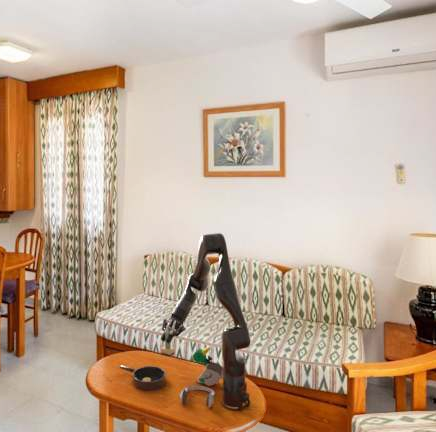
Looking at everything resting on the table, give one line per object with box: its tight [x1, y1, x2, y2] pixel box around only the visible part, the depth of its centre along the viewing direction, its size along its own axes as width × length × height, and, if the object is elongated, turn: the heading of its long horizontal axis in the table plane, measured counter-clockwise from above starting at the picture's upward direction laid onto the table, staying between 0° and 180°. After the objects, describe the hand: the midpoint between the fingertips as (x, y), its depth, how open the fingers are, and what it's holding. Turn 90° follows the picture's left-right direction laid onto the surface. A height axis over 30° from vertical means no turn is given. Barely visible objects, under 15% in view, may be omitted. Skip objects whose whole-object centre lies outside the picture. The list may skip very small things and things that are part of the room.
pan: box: [132, 365, 167, 392], centre depth 181 cm, size 15×15×4 cm
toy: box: [192, 346, 223, 389], centre depth 181 cm, size 6×17×20 cm
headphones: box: [169, 385, 216, 409], centre depth 167 cm, size 17×6×20 cm
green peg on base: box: [160, 330, 175, 358], centre depth 186 cm, size 5×4×11 cm
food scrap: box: [142, 377, 151, 382], centre depth 182 cm, size 4×4×1 cm
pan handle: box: [119, 364, 136, 374], centre depth 188 cm, size 11×2×2 cm, turn 58°
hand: (164, 341), depth 184 cm, fingers closed on green peg on base, 2 cm apart
